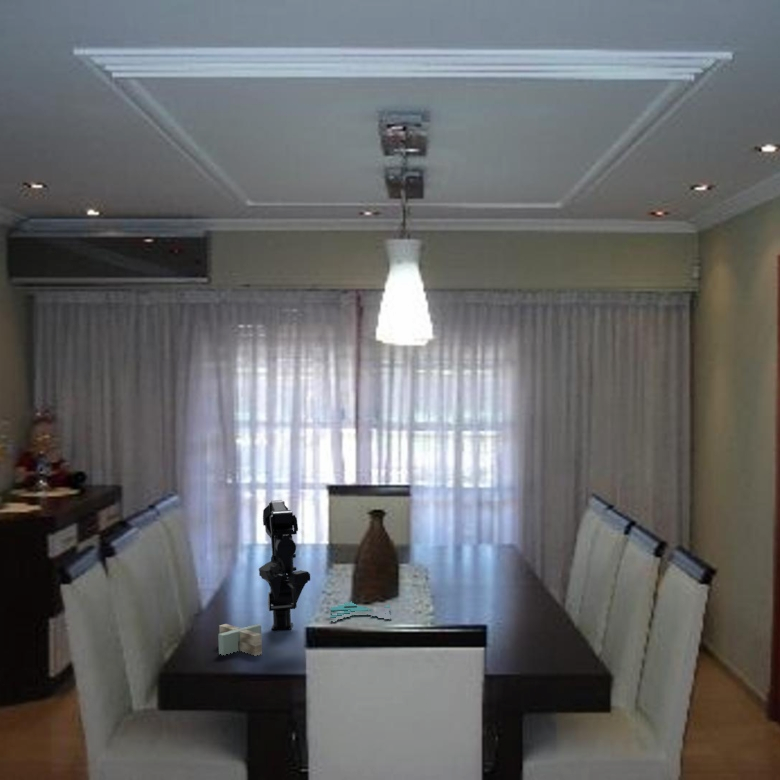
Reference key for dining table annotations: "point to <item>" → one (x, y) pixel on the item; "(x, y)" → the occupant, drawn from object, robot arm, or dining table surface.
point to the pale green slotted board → (234, 639)
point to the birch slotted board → (246, 640)
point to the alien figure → (351, 607)
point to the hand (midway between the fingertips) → (285, 601)
